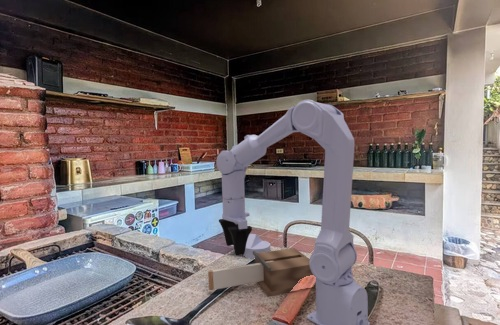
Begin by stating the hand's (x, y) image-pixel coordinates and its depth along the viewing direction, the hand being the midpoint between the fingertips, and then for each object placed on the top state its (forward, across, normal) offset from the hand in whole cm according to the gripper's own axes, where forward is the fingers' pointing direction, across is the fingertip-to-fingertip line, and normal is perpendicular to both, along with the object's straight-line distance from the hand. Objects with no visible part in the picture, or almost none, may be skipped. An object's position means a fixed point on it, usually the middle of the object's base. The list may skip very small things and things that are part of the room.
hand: (235, 249), depth 74 cm
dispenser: (+9, -4, -12) cm, 15 cm away
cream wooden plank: (+8, -3, -1) cm, 8 cm away
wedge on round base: (+9, +18, -11) cm, 23 cm away
